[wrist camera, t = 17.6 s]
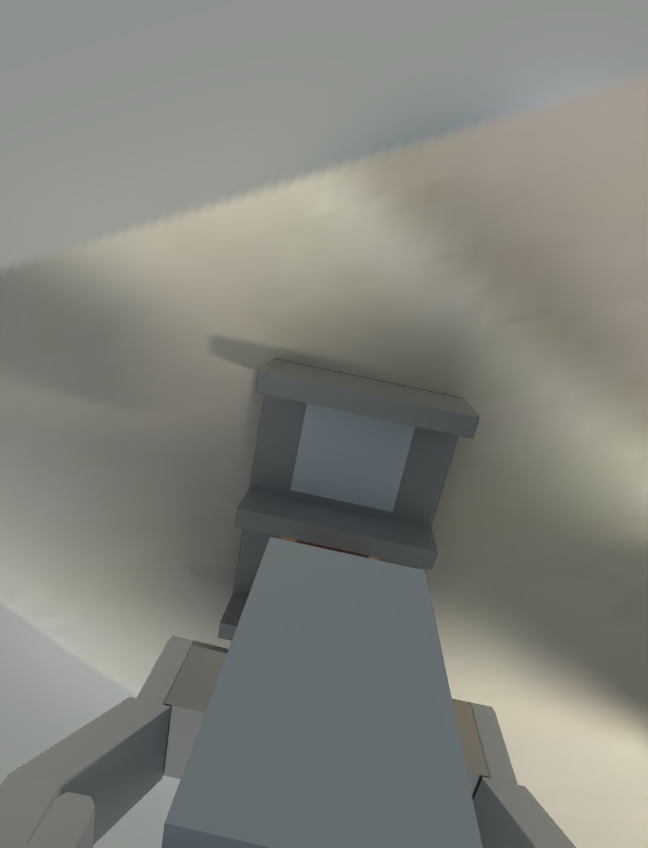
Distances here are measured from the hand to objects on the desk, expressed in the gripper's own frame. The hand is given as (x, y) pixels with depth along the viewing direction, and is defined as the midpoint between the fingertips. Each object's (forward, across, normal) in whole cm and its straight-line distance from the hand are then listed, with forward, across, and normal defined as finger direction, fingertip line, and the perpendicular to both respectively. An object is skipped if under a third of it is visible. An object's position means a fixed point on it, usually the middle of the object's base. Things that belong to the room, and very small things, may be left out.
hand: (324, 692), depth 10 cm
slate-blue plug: (+2, 0, 0) cm, 2 cm away
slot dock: (+16, 0, -4) cm, 16 cm away
